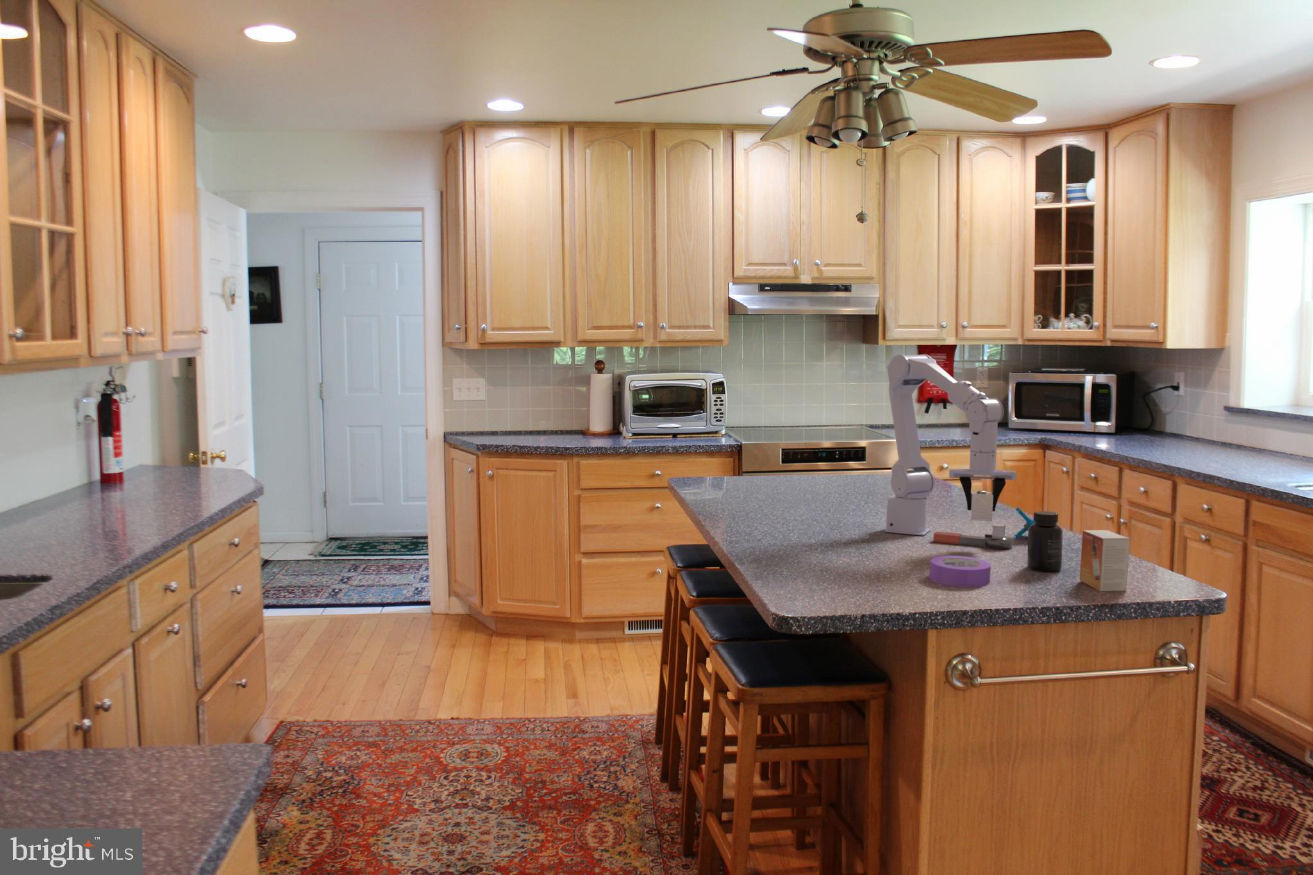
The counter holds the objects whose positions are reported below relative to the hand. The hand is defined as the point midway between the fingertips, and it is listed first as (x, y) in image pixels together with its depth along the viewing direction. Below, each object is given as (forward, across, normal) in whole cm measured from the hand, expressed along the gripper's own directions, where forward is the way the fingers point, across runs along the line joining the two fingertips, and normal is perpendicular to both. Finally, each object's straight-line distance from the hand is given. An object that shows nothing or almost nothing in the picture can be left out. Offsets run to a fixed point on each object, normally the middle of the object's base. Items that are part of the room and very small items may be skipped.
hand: (981, 510), depth 232 cm
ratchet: (+9, -1, +4) cm, 10 cm away
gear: (+9, +13, +15) cm, 22 cm away
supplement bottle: (+9, +12, -18) cm, 23 cm away
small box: (+9, +21, -30) cm, 38 cm away
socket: (+2, 0, 0) cm, 2 cm away
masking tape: (+9, -6, -32) cm, 34 cm away
